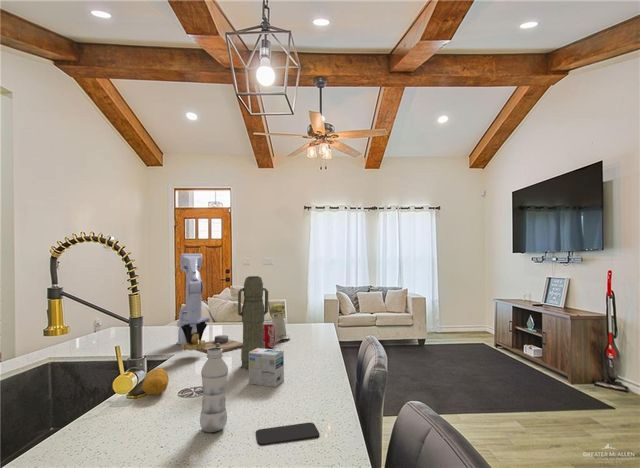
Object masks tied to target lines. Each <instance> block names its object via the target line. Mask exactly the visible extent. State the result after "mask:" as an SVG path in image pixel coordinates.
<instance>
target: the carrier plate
mask: <svg viewBox="0 0 640 468" xmlns="http://www.w3.org/2000/svg"><path fill="white" fill-rule="evenodd" d="M205 342H206V347H205V348H202V349H200V350H199V351H201V352H204V353H207V350H208V349H210V348H222V354H223V353H225V352H229V351H235V350H239V349H242V346H243V342H242V341H236V340H234V339H229V335H226V334H223V335H222V334H220V335H216V336H214V340H209V341H205ZM234 349H235V350H234Z"/></svg>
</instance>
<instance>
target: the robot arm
mask: <svg viewBox="0 0 640 468" xmlns="http://www.w3.org/2000/svg"><path fill="white" fill-rule="evenodd" d="M202 266H203V254H202V253H201V252H200V253H183V252H182V253H181V254H180V270H181V271H183V272H184V274H185V304H184V306H182V307H181V308H180V309H179V315H178V321H177V322H176V327H177V328H178V329H177V330H178V331H177V334H178V335H177V342H176V344H178V345H180V346H181V343H182V342H187V343H191V332H199V341H202V340H203V339H202V338H203V335H204V332H205V330H206V328H207V327H208V324H207V323H210V322H211V317H207V316H206V317H202V306H203V305H202V302H203V300H202V297H203V294H204V283H203V280H202V278H201V277H202V276H201V272H200V270H201V268H202Z"/></svg>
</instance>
